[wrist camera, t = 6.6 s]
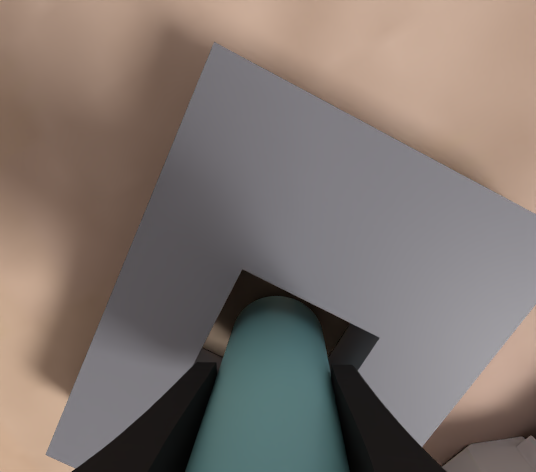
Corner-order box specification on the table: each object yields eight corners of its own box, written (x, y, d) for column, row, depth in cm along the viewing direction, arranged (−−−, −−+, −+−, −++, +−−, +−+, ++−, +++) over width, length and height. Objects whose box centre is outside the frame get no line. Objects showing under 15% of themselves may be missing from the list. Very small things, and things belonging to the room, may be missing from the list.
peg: (229, 296, 12) (123, 539, 4) (322, 295, 12) (386, 550, 4) (235, 377, 13) (155, 704, 5) (323, 377, 13) (377, 721, 5)
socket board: (230, 67, 11) (214, 42, 9) (524, 224, 12) (586, 241, 9) (85, 406, 15) (45, 454, 13) (313, 512, 16) (317, 577, 13)
